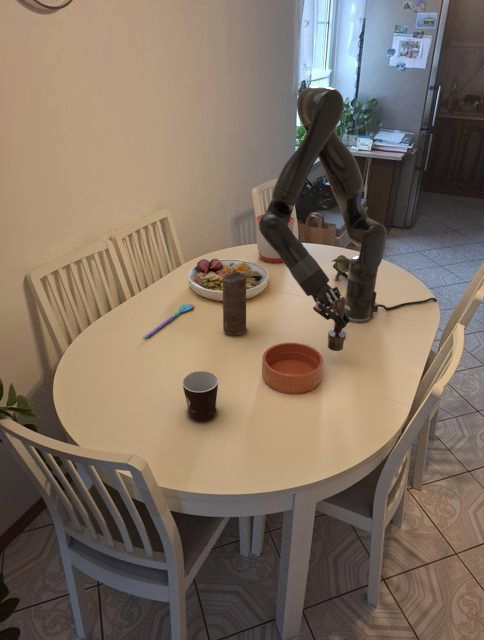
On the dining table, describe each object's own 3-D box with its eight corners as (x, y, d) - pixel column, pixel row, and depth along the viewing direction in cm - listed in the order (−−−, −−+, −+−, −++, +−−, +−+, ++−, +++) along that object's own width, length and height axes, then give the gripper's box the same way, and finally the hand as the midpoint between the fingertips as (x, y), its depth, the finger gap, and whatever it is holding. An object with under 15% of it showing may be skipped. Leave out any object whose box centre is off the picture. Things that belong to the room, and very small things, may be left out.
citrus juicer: (251, 265, 203) (252, 217, 192) (259, 249, 217) (259, 204, 206) (289, 268, 201) (292, 220, 190) (294, 252, 215) (296, 207, 204)
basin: (308, 356, 146) (309, 339, 143) (330, 388, 133) (333, 370, 130) (255, 364, 142) (255, 346, 139) (272, 399, 129) (273, 380, 125)
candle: (243, 339, 153) (243, 281, 142) (220, 336, 154) (218, 278, 144) (248, 327, 160) (249, 270, 149) (226, 324, 161) (225, 268, 150)
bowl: (283, 282, 189) (283, 263, 185) (238, 313, 168) (238, 292, 163) (220, 264, 202) (219, 246, 198) (171, 291, 181) (170, 271, 177)
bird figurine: (341, 264, 203) (336, 232, 186) (363, 270, 199) (361, 237, 182) (328, 290, 198) (322, 259, 181) (351, 296, 194) (347, 265, 177)
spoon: (185, 304, 172) (185, 301, 171) (195, 306, 171) (195, 303, 170) (144, 338, 152) (144, 335, 152) (155, 341, 151) (155, 337, 150)
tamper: (339, 341, 144) (346, 292, 135) (347, 350, 140) (354, 300, 131) (324, 343, 142) (329, 293, 134) (330, 352, 138) (337, 302, 130)
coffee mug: (185, 402, 126) (183, 371, 121) (219, 401, 127) (218, 370, 122) (183, 433, 117) (180, 401, 111) (219, 432, 117) (218, 399, 112)
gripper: (308, 277, 126) (347, 330, 128) (328, 259, 137) (364, 309, 139) (288, 290, 131) (326, 342, 133) (309, 272, 142) (344, 320, 144)
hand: (345, 324), depth 136 cm, fingers closed on tamper
